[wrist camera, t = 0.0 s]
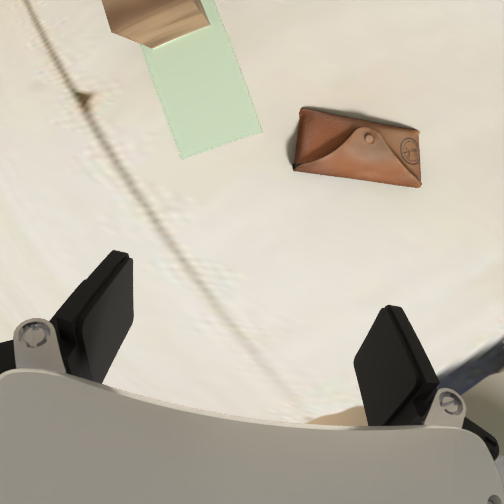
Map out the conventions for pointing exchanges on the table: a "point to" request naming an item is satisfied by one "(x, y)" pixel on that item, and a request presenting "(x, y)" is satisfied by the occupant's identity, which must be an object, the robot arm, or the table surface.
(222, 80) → the felt mat
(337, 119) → the sunglasses case
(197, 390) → the table surface
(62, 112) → the table surface
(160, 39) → the walnut block
